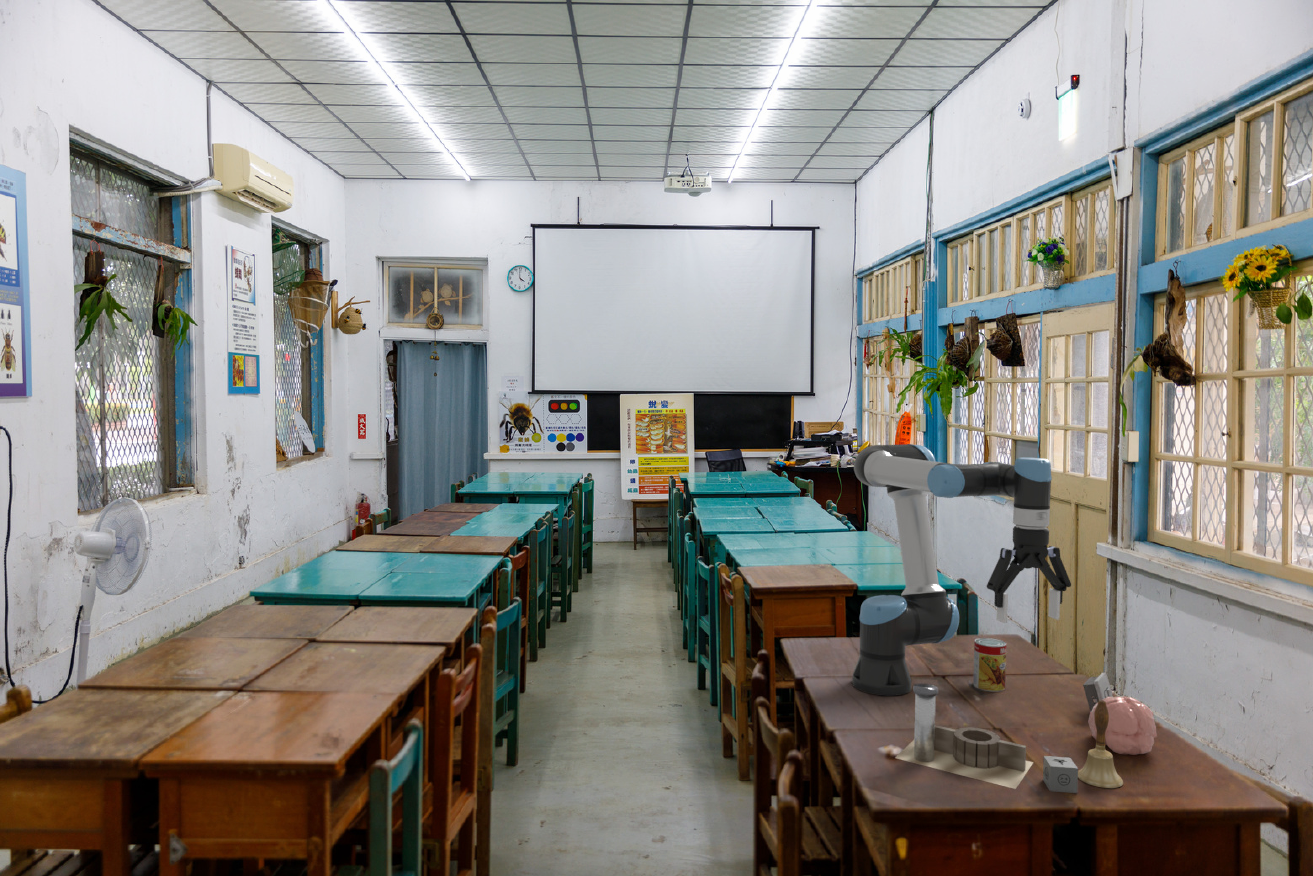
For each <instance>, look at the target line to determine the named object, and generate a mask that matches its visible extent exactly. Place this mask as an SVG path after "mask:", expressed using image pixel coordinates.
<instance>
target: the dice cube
mask: <svg viewBox="0 0 1313 876" xmlns="http://www.w3.org/2000/svg"><path fill="white" fill-rule="evenodd" d="M1042 769H1043V770H1042V774H1043V775H1042V781H1043V782H1044V784H1045V785H1046V787H1047V788H1048V790H1049V791H1050V792H1059V793H1070V794H1071V793H1073V794H1078V782H1079V781H1078V779H1079V778H1078V771H1079V768H1078V766H1077V764H1075V762H1074V761H1073V759H1072V758H1071V757H1066V756H1065V757H1063V756H1049V755H1043V765H1042Z"/></svg>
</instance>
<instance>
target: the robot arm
mask: <svg viewBox="0 0 1313 876" xmlns="http://www.w3.org/2000/svg"><path fill="white" fill-rule="evenodd" d="M853 462H854V464H853V471H854V474H855V476H856V478H857V479H858V480H859V481H860V482H861V483H862V484H864V485H866V486H868V487H873V488H886V492H887V496H888V497H890V498H891V499H892V500H893V501H894V502H893V503H894V510H895V516H896V523H897V531H898V539H899V546H900V547H899V548H900V552H901V560H902V568H903V574H904V582H905V588H904V590H902V593H901V596H900V595H894V594H888V595H886V594H880V595H874V596H871V597H868V598H866V599H865V600H863V602H862V604H861V606H860V614H859V617H858V618H859V656H858V659H857V661H856V665H855V667H854V671H853V672H852V677H851V681H852V682H851V684H852V686H853V687H854V688H855V689H856V690H859V691H860V692H863V693H866V694H871V695H877V696H889V697H890V696H891V697H892V696H901V695H905V694H907V693H910V692H911V691H912V678H911V675H910V674H911V673H910V672H909V668H908V665H907V662H906V646H915V645H926V644H939V643H943V642H947V641H949V640H951V639H952V638H953V637H954V636H955V634H956V633H957V630H958V628H959V625H960V624H959V623H960V613H959V609H958V606H957V605H956V604H955V601H954V600H953V599H952V598H950V597H947V591H946V589H945V588H943V587H942V586H941V584H939V577H938V570H937V563H936V556H935V551H934V550H935V549H934V543H933V536H932V535H933V534H932V529H931V523H930V521H931V520H930V515H929V508H928V501H927V497H928V495H929V494H930V493H932V494H933V496H935V497H937V498H945V499H946V498H947V499H948V498H949V499H952V498H961V497H962V498H963V497H988V496H989V497H990V496H991V497H993V496H997V497H998V496H1002V497H1009V498H1013V510H1012V511H1013V512H1012V513H1013V515H1012V524H1013V525H1015V526H1013V527H1012V543H1013V548H1012V549H1008V548H1006V547H1002V548H1000V552H999V553H1000V554H999V558H998V560H997V562H996V565H995V567H994V569H993V571H992V573H991V576H990V578H989V580H988V582H987V584H986V589H987V590H990V591H993V592H994V607H996V621H998V622H1001V623H1003V624H1007V623H1008V605H1009V604H1008V601H1009V594H1008V593H1006V591H1007V590H1008V588H1009V587H1010V585H1011V584H1012V583H1013V582H1014V581H1015V579H1016V578H1017V576H1018V575H1019V574H1020V572H1023V571H1024V570H1025V569H1028V570H1029V569H1032V568H1033V569H1039V570H1040V572H1041V573H1042V574H1043V576H1044V577H1045V579H1046V580H1047V581H1048V583H1049V584H1050V585H1051V587H1052V588H1049V590H1048V591H1049V592H1048V593H1049V594H1048V595H1049V596H1048V617H1049V618H1052V619H1054V620H1056V621H1057V620H1060V614H1061V613H1060V609H1061V605H1062V603H1063V596H1064V595H1063V594H1064V592H1066V591H1067V588H1071V586H1072V582H1071V580H1070V578H1069V575H1068V573H1067V570H1066V567H1065V566H1064V563H1063V561H1062V557H1061V549H1060V548H1059V547H1056V546H1052V545H1049V543H1050V529H1049V528H1048V527H1049V526H1050V516H1051V515H1050V513H1051V489H1052V488H1051V487H1052V486H1051V485H1052V479H1053V477H1052V464H1051V461H1050V460H1048V459H1047V458H1043V457H1041V458H1040V457H1018V458H1016V459H1015V461H1014V464H1009V463H1004V462H1002V463H1001V462H999V461H994V462H993V461H987V462H983V463H971V464H970V463H969V464H965V463H964V464H961V463H959V464H958V463H948V462H939V461H936V458H935V455H934V454H933V453H932V452H931V450H930V449H928V448H927V447H925V446H924V445H922V444H912V443H907V444H906V443H905V444H875V445H871V446H868V447H865V448H864V449H862V450H861V451H860V452H858V454H857V456H856V457H855V460H854V461H853ZM1048 545H1049V546H1048ZM1047 557H1048V558H1049V562H1050V564H1051V566H1052V567H1051V566H1050V564H1049V562H1048V560H1047V559H1046V558H1047Z"/></svg>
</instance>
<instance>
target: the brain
mask: <svg viewBox="0 0 1313 876" xmlns="http://www.w3.org/2000/svg"><path fill="white" fill-rule="evenodd" d="M1103 701H1105V702H1106V706H1107V709H1108V713H1109V722H1108V726H1107V729H1106V732H1105V746H1107V747H1108V748H1109V749H1110V750H1112V752H1113V753H1117V754H1119V755H1130V756H1136V755H1144V754H1148V753H1150V752H1151V751H1152V749H1153V748H1152V747H1153V746H1154V743H1155V738H1157V737H1158V734H1157V726H1156V723H1155V719H1154V717H1155V714H1154V712H1153V711H1152V710H1151V708H1150V707H1149V706H1147V705H1146V704H1145V703H1142V702H1141V701H1139V700H1138V699H1136V698H1134V697H1132V696H1129V697H1128V696H1126V695H1125V696H1124V695H1123V696H1113V697H1107V698H1105V699H1103ZM1097 705H1098V703H1097V704H1095V706H1094V707H1093V709H1092V711H1091V712H1090V711H1089V716H1088V721H1087V722H1088V726H1089V729H1090V730H1091V736H1092V738H1094V739H1095V740H1096V737H1097V729H1096V725H1095V719H1094V715H1095V709H1096V707H1097Z"/></svg>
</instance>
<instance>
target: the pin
mask: <svg viewBox="0 0 1313 876" xmlns="http://www.w3.org/2000/svg"><path fill="white" fill-rule="evenodd" d="M912 691H913V693H914V694H915V698H914V700H915V701H914V734H913V735H914V737H913V738H914V739H913V740H914V758H915V759H916V760H918V761H921V762H932V761H934V739H935V725H936V698H937V697H936V696H938V695H939V688H938V686H936V685H933V684H931V683H916V684H913V685H912Z"/></svg>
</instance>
